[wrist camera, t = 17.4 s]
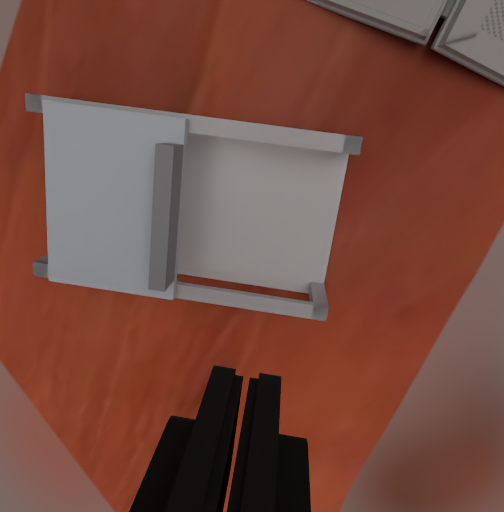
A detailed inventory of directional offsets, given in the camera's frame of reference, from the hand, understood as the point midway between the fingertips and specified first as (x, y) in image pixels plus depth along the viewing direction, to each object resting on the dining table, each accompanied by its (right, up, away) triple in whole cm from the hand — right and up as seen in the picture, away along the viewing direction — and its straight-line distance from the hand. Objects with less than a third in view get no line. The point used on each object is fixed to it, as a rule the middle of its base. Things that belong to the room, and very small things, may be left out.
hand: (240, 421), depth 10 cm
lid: (-10, +8, +20) cm, 24 cm away
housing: (-4, +9, +26) cm, 28 cm away
